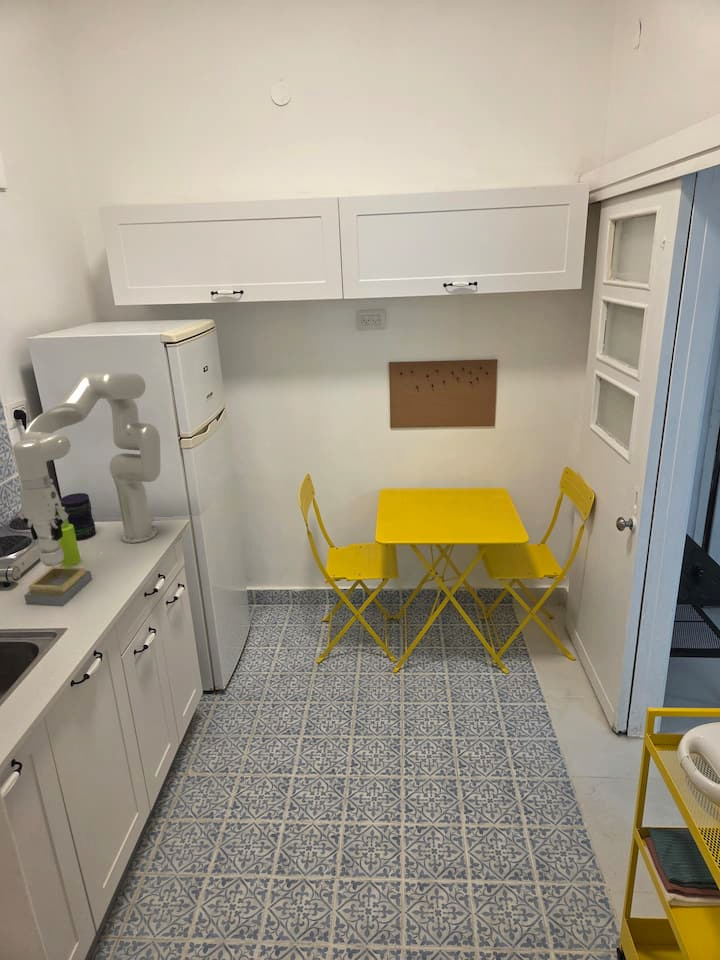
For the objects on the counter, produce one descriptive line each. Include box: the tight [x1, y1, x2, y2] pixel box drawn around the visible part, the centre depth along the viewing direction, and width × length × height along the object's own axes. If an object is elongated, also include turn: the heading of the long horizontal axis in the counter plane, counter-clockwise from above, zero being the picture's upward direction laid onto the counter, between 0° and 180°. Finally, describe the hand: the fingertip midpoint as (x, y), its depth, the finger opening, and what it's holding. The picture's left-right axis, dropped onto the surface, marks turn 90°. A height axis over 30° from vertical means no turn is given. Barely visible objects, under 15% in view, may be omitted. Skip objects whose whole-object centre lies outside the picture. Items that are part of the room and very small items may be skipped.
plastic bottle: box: [32, 516, 64, 567], centre depth 186 cm, size 6×7×20 cm
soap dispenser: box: [58, 507, 81, 568], centre depth 208 cm, size 6×7×20 cm
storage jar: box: [59, 492, 97, 542], centre depth 229 cm, size 10×10×15 cm
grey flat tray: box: [23, 566, 93, 607], centre depth 192 cm, size 16×12×5 cm
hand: (48, 537), depth 187 cm, fingers closed on plastic bottle, 6 cm apart
